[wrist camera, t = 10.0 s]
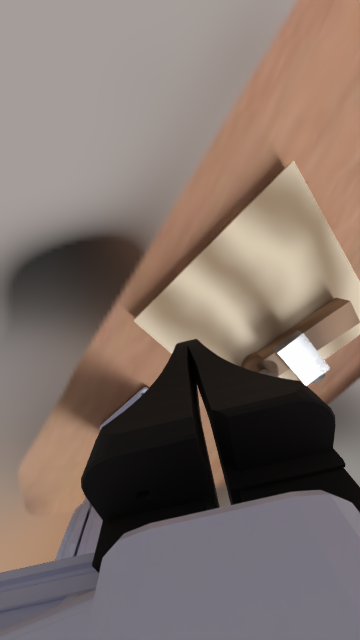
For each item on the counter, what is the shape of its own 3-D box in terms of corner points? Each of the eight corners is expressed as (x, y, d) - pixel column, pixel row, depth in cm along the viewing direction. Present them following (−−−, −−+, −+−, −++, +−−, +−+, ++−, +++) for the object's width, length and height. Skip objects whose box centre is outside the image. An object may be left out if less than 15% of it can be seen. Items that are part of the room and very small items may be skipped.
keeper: (289, 371, 22) (308, 388, 19) (261, 339, 20) (277, 353, 17) (310, 356, 21) (332, 372, 18) (283, 321, 20) (303, 333, 17)
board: (241, 409, 25) (244, 416, 24) (135, 317, 19) (133, 320, 18) (369, 316, 21) (380, 319, 20) (284, 167, 16) (293, 160, 15)
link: (251, 382, 22) (265, 403, 19) (235, 364, 21) (247, 383, 18) (346, 319, 20) (380, 330, 17) (334, 295, 19) (368, 302, 15)
